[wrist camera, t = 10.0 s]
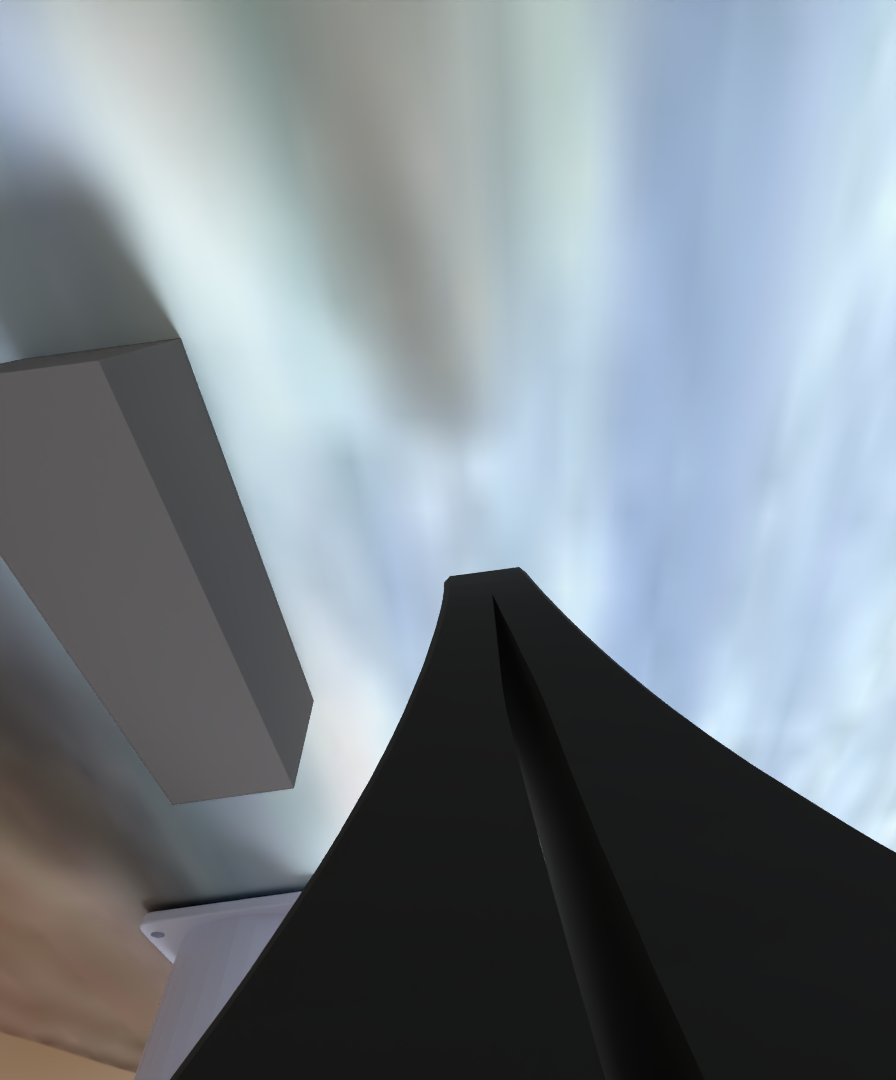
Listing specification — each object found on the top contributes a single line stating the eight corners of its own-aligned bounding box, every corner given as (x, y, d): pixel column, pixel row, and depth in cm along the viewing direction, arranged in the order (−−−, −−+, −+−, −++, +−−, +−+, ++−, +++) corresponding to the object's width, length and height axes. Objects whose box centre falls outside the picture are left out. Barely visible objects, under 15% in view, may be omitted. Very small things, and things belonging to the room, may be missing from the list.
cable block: (315, 693, 14) (293, 788, 12) (216, 707, 14) (172, 804, 12) (186, 336, 9) (97, 360, 7) (34, 356, 9) (-116, 388, 7)
